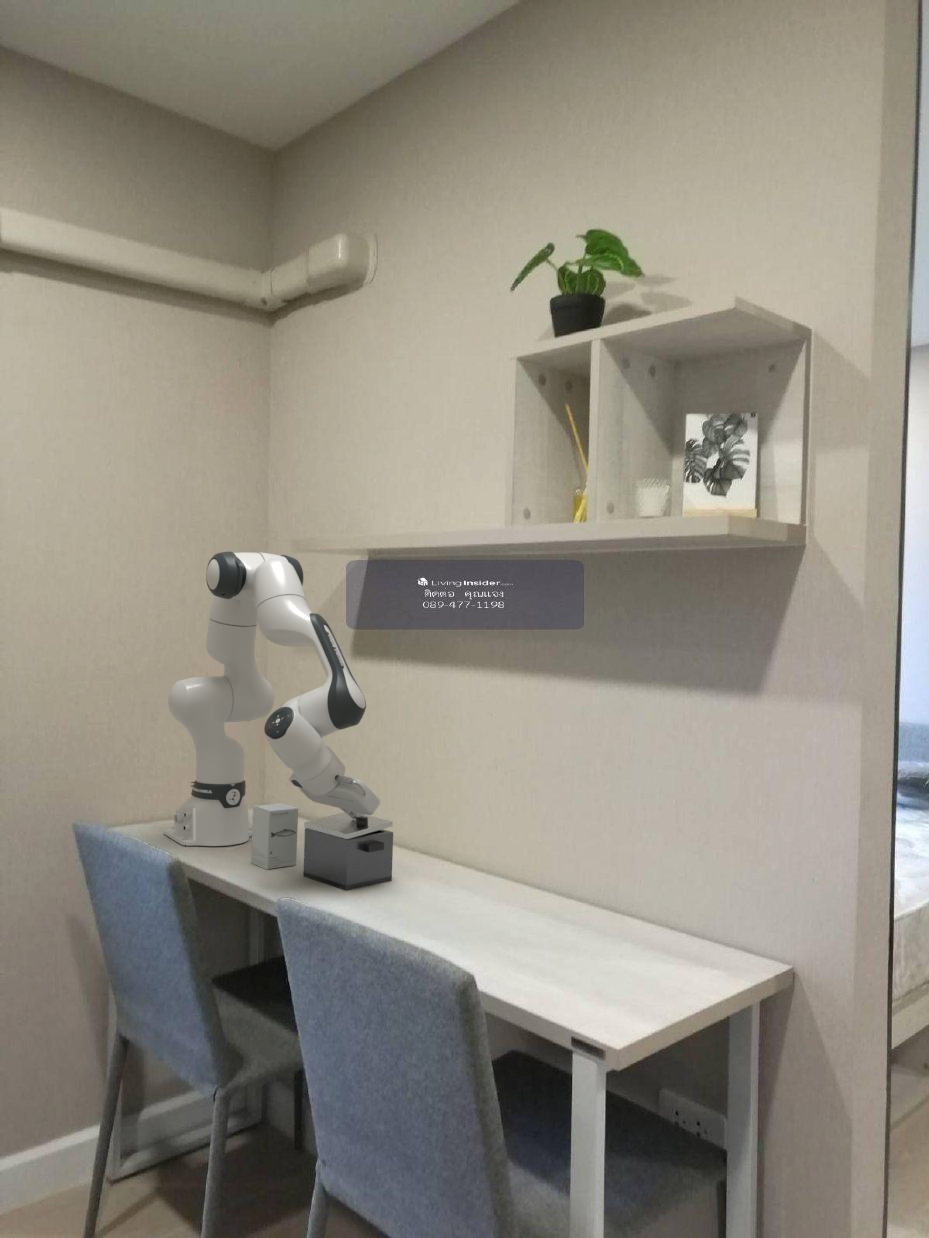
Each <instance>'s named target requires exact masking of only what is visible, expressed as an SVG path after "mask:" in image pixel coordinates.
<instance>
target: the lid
mask: <svg viewBox="0 0 929 1238" xmlns="http://www.w3.org/2000/svg"><path fill="white" fill-rule="evenodd" d="M393 826H394V825H393V821H392V820H388V819H383V818H381V817H375V816H372V815H367V814H365V816H360V817H357V818H356V819H353V818H351V817H350V816H349V815H348V814H347V813H345V812H344V811H342V812H340V813H339V812H338V813H336V814H331V815H328V816H324V817H320V818H316V819H311V820H309V821H304V823H303V827H304V829H305V828H309V829H312V830H316V831H319V832H323V833H326V834H330V835H334V836H337V837H341V838H344V839H350V838H353V837H357V836H360V835H364V834H367V833H371V832H374V831H378V830H381V829H383V830H386V829H387V828H391V827H393Z"/></svg>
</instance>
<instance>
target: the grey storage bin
mask: <svg viewBox="0 0 929 1238" xmlns="http://www.w3.org/2000/svg"><path fill="white" fill-rule="evenodd" d="M303 846H304V847H303V848H304V850H303V851H304V852H303V877H304V878H306V879H310V880H313V881H316V882H320V883H322V884H325V885H329V886H330V887H331V886H332V887H334V888H337V889H339V890H343V891H346V892H347V891H352V890H356V889H361V888H365V887H369V886H373V885H378V884H383V883H387V882H391V881H392V880H393V852H394V850H393V849H394V831H390V830H387V829H381V830H378V831H374V832H371V833H367V834H364V835H360V836H357V837H353V838H350V839H344V838H341V837H337V836H334V835H330V834H326V833H323V832H319V831H316V830H312V829H309V828H305V827H304V845H303Z"/></svg>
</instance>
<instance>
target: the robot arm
mask: <svg viewBox="0 0 929 1238" xmlns="http://www.w3.org/2000/svg"><path fill="white" fill-rule="evenodd" d="M302 567H303V566H302V565H301V564H300V562H299V560H298V559H296V558H294V557H291V556H288V555H287V554H281V555H280V554H274V553H269V552H268V553H267V552H260V551H254V552H249V551H248V552H246V551H243V552H242V551H241V552H233V551H229V550H228V551H221V552H218V553H215V554H214V555H213V556H212V557H211V559H210V560H209V561H208V563H207V566H206V574H205V577H206V585H207V588H208V590H209V591H210V593H211V594H212V595H213V598H212V603H211V607H210V608H211V609H210V612H209V619H208V625H207V626H208V627H207V633H206V641H205V648H206V652H207V653H208V655H209V656H210V657H211V659H213V660H215V661H217V662H218V663H220V664H222V665H223V667H224V669H223V670H224V671H223V675H222V676H220V675H219V676H194V677H188V678H185V679H181V680H177V681H176V682H175V683H174V684H173V686H172V687H171V689H170V691H169V694H168V697H167V698H168V702H167V703H168V709H169V711H170V713H171V715H172V716H173V718H174V719H175V720H176V721H178V722H179V723H181V724H182V725H183V726H184V727H185V728H186V730H187V731H188V732H189V735H190V736H191V738H192V741H193V744H194V747H195V758H196V759H195V761H196V762H195V763H196V764H195V765H196V769H195V770H196V772H195V776H196V777H195V780H194V781H190V783H191V784H192V785H190V787H191V793H190V794H191V796H190V797H188V799H187V800H186V801H184V803H183V804H181V805H180V806H179V807H178V808H177V809H176V811H175V814H174V816H173V817H174V818H173V821H174V823H173V824H174V825H173V827H168V828H166V829H164V832H163V835H165V836H166V837H169V838H170V839H171V840H173V841H174V842H176V843H178V844H180V845H181V846H185V845H186V847H187V846H188V847H189V846H199V847H200V846H201V847H202V846H203V847H225V846H233V845H238V844H239V845H240V844H243V843H246V842H247V841H249V840H250V837H251V838H252V829H250V816H249V815H250V813H249V812H250V811H249V803H248V801H247V800H246V798H245V796H246V789H247V784H246V780H245V755H246V754H245V752H246V751H245V750H244V747H243V745H242V744H241V743H240V742H239V741H238V740H236V739H234V738H232V737H230V736H228V735H227V734H226V730H225V725H224V724H225V723H237V722H238V723H239V722H251V721H254V720H259V719H261V718H266V717H268V715H269V714H270V713H271V711H272V710H273V707H274V705H275V691H274V689H273V686H272V684H271V683H270V682H269V681H268V679H266V678H265V677H264V676H263V674H261V672H260V671H259V669H258V666H257V662H256V657H255V648H256V638H257V629H258V627H259V629H260V632H261V633H262V635H263V636H264V637H265V638H266V639H267V640H268V641H269V642H272V643H273V644H276V645H279V646H283V647H289V648H296V647H313V649H314V650H315V652H316V654H317V657H318V659H319V660H320V661H319V662H320V664H321V666H322V668H323V670H324V673H325V674H326V681H325V683H324V684H323V685H321V686H319V687H317V688H315V689H312V690H310V691H308V692H306V693H302V694H300V695H298V696H295V697H293V698H291V699H288V700H287V701H286V702H284V703H282V704H281V705H280V707H279V708H278V709H276V710H275V711H273V712H272V713H271V714H270V715H269V717H268V718H267V719H266V721H265V724H264V728H263V732H264V733H263V734H264V735H265V739H266V740H267V742H268V743H269V746H270V747H271V749H272V750H273V752H274V753H275V754H276V756H277V757H278V758H279V759H280V760H281V762H282V763H283V764H284V765H285V766H286V767H287V768H289V769H291V770H292V774H291V775H290V777H289V779H288V781H289V782H290V784H291V785H293V786H294V787H297V788H298V789H299V790H300V792H301V793H302V794H304V796H305V797H307V799H309V800H310V801H312V802H314V803H317V804H321V805H326V806H330V807H334V808H337V809H339V810H341V811H342V812H345V813H347V814H348V815H349V816H350V817H351V818H353V819H356V818H357V817H360V816H365V815H368V816H372V815H373V814H375V811H376V810H377V809H378V807H379V806H380V805H381V800H380V798H379V797H378V796H377V794H375V792H374V791H373V790H372V789H371V788H370V787H369V786H368V785H367V784H366V783H365V782H364V781H362V780H360V779H359V778H356V777H350V776H347V775H346V776H345V773H346V766H345V764H344V763H343V762H342V761H341V759H340V758H339V757H338V755H337V754H336V753H335V752H334V751H333V750H332V748H330V747H329V746H327V745H326V744H325V743H324V742H323V739H322V738H324V737H326V736H329V735H331V734H334V733H335V732H336V733H337V732H338V731H341V730H345V729H347V728H351V727H355V726H357V725H359V724H360V722H361V720H362V719H363V717H364V715H365V712H366V708H367V702H366V698H365V695H364V693H363V692H362V690H361V688H360V686H359V684H358V683H357V681H356V679H355V678H354V676H353V675H352V672H351V669H350V668H349V665H348V663H347V661H346V658H345V657H344V654H343V652H342V649H341V647H340V645H339V643H338V641H337V638H336V637H335V634H334V632H333V630H332V629H331V626H330V625H329V623H328V622H327V621H326V620H325V618H324V617H323V616H322V615H321V614H319V613H314V612H312V610H311V609H310V607H309V604H308V602H307V599H306V598H307V597H306V594H305V591H304V587H303V584H304V570H303V568H302Z"/></svg>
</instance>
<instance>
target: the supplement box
mask: <svg viewBox="0 0 929 1238" xmlns="http://www.w3.org/2000/svg"><path fill="white" fill-rule="evenodd" d="M298 821H299V807H296V806H295V805H294V806H293V805H289V804H287V803H283V802H279V803H270V804H269V803H268V804H259V805H253V806H252V829H251V830H252V836H251V853H250V855H251V858H250V863H251V864H253V865H255V866H257V867H260V868H262V869H264V870H266V871H268V870H271V869H276V868H277V869H278V868H283V867H292V866H293V867H295V866H296V865H297V851H298V825H299V822H298Z"/></svg>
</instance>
